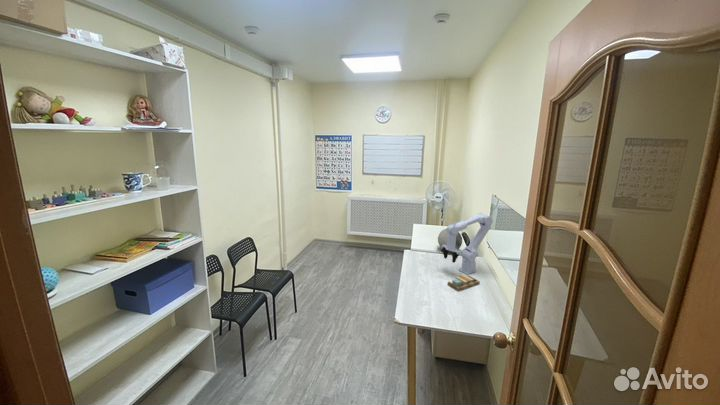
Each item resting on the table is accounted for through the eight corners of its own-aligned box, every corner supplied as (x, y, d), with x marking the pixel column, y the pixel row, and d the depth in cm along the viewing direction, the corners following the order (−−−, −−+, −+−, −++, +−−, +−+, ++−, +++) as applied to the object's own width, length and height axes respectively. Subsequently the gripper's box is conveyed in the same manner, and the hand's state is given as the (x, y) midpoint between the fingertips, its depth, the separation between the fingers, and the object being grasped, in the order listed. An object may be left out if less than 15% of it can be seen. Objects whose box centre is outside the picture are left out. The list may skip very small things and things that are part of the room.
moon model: (436, 253, 229) (438, 231, 225) (437, 245, 248) (438, 224, 244) (461, 256, 224) (464, 233, 220) (460, 248, 243) (462, 226, 238)
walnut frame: (468, 278, 188) (468, 275, 188) (479, 284, 180) (479, 281, 180) (447, 285, 179) (447, 282, 178) (458, 291, 171) (458, 288, 170)
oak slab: (463, 278, 189) (463, 274, 188) (473, 283, 182) (473, 279, 181) (455, 281, 185) (455, 277, 184) (464, 286, 178) (465, 282, 177)
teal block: (456, 284, 180) (456, 278, 179) (461, 287, 176) (461, 281, 176) (451, 285, 178) (452, 280, 177) (456, 288, 175) (457, 282, 174)
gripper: (439, 239, 195) (438, 257, 197) (455, 246, 182) (453, 265, 185) (446, 238, 198) (445, 255, 201) (462, 244, 185) (460, 263, 188)
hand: (449, 260), depth 193 cm, fingers open, 7 cm apart
